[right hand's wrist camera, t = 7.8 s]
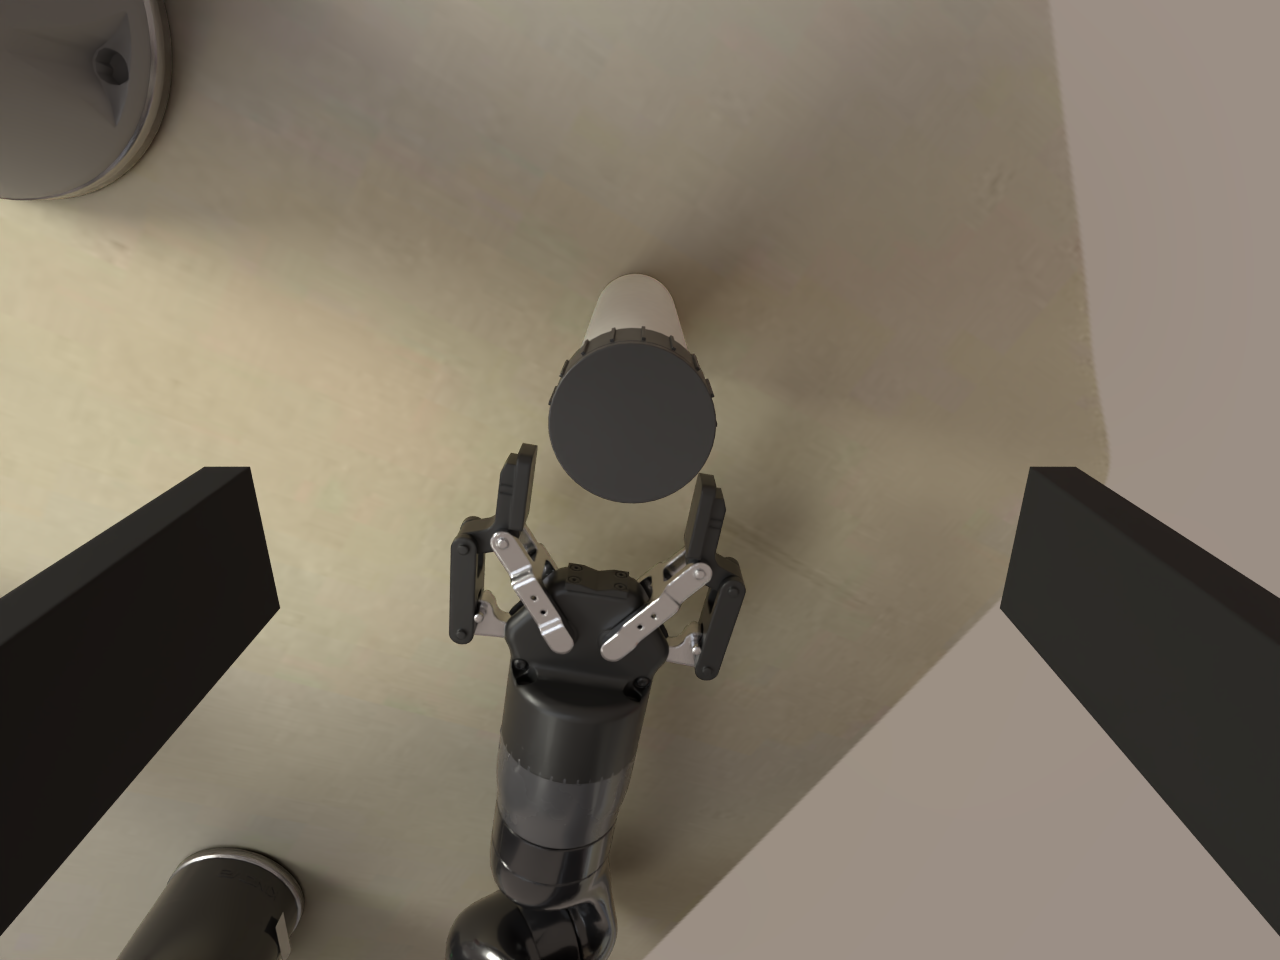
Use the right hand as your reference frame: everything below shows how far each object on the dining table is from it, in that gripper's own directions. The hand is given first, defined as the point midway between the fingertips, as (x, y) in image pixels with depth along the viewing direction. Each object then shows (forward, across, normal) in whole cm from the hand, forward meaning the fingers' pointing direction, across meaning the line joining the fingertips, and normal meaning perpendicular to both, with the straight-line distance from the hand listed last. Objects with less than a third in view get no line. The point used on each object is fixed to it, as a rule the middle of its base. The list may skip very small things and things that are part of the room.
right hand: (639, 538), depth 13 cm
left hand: (+21, +1, +6) cm, 22 cm away
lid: (+8, 0, 0) cm, 8 cm away
